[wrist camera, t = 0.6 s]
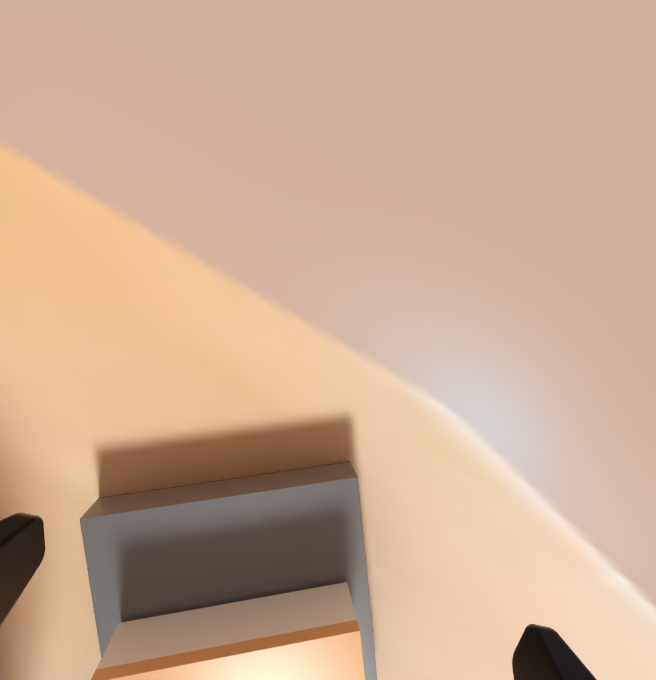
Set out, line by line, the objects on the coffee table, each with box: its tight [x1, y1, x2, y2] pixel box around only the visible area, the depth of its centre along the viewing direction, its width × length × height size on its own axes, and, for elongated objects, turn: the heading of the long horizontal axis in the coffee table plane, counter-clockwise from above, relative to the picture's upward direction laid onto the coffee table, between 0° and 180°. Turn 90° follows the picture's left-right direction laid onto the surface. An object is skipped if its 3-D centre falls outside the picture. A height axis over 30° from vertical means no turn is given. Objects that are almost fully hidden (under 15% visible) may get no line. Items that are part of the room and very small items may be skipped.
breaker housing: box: [80, 462, 377, 680], centre depth 20 cm, size 12×12×2 cm
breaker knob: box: [91, 582, 365, 680], centre depth 18 cm, size 2×10×3 cm, turn 96°
